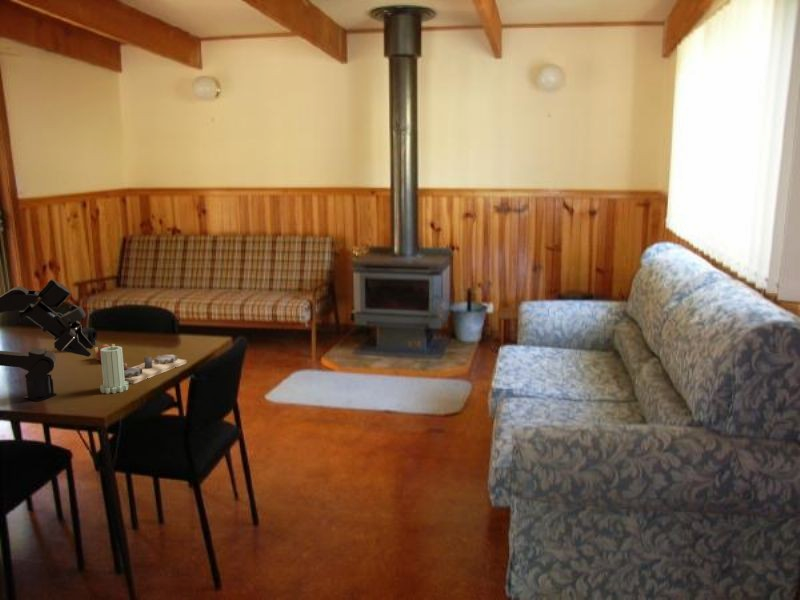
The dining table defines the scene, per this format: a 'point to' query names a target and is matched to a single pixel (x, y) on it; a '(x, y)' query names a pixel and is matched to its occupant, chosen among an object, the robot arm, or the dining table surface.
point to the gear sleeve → (113, 370)
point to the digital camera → (90, 334)
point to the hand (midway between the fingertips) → (91, 351)
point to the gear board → (154, 370)
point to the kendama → (97, 349)
